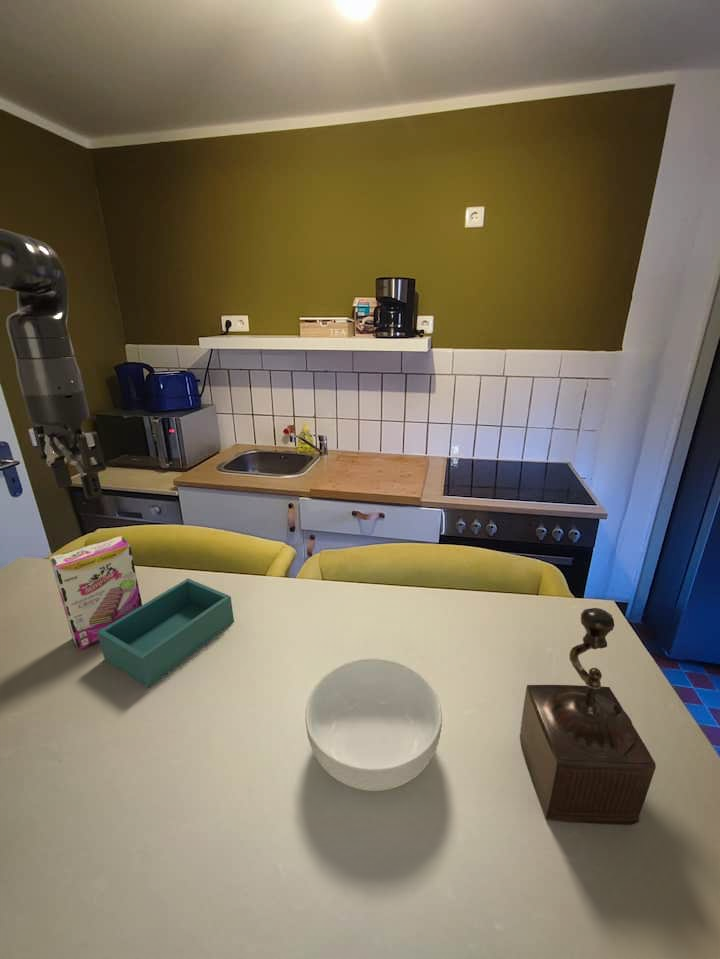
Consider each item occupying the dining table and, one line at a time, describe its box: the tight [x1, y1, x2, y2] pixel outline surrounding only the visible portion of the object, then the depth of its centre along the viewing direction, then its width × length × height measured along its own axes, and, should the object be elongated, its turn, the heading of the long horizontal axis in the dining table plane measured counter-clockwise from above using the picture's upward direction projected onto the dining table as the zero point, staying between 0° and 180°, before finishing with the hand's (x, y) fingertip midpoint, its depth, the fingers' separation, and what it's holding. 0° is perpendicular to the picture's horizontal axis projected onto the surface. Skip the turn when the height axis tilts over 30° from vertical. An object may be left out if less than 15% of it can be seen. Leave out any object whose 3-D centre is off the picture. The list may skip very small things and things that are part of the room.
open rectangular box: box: [97, 578, 235, 688], centre depth 74 cm, size 12×18×6 cm, turn 150°
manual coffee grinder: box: [519, 607, 657, 826], centre depth 51 cm, size 16×11×18 cm
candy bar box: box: [49, 535, 143, 651], centre depth 75 cm, size 11×5×16 cm, turn 135°
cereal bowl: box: [304, 657, 443, 792], centre depth 55 cm, size 17×17×7 cm
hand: (79, 491), depth 68 cm, fingers open, 8 cm apart
